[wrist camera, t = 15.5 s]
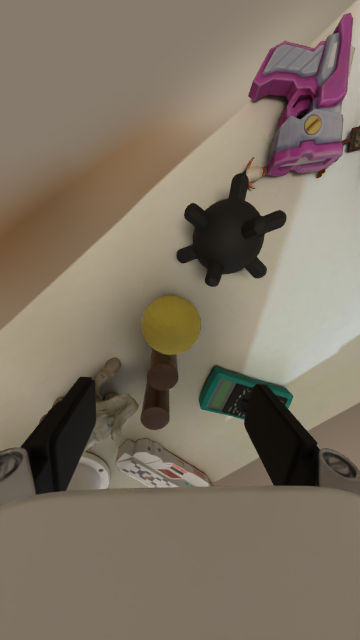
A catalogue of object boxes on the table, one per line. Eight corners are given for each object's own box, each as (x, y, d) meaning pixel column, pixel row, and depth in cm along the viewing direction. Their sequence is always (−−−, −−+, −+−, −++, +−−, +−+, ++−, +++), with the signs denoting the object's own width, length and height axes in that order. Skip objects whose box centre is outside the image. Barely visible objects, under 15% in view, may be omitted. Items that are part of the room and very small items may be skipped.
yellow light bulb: (164, 339, 29) (162, 377, 19) (138, 303, 27) (122, 326, 17) (201, 317, 28) (218, 345, 18) (177, 278, 26) (183, 288, 16)
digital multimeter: (268, 418, 35) (277, 432, 32) (196, 399, 32) (199, 411, 29) (288, 387, 33) (299, 398, 30) (213, 363, 30) (218, 373, 28)
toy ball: (153, 189, 20) (271, 127, 16) (186, 254, 29) (267, 223, 26) (159, 264, 15) (325, 201, 12) (196, 314, 24) (296, 286, 21)
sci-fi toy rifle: (136, 428, 34) (244, 496, 41) (115, 450, 35) (224, 512, 42) (133, 447, 30) (251, 517, 37) (110, 470, 31) (229, 535, 38)
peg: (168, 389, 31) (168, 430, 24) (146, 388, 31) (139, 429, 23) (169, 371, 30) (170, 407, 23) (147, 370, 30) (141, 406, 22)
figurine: (143, 388, 35) (159, 470, 21) (63, 420, 32) (22, 539, 18) (127, 346, 31) (134, 412, 18) (35, 377, 28) (-41, 485, 15)
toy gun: (255, 163, 20) (355, 150, 19) (255, 26, 17) (369, 4, 17) (246, 179, 23) (331, 169, 22) (245, 65, 20) (340, 49, 20)
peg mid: (174, 358, 30) (176, 391, 22) (151, 357, 29) (146, 390, 22) (176, 337, 29) (179, 365, 21) (153, 336, 28) (148, 363, 21)
